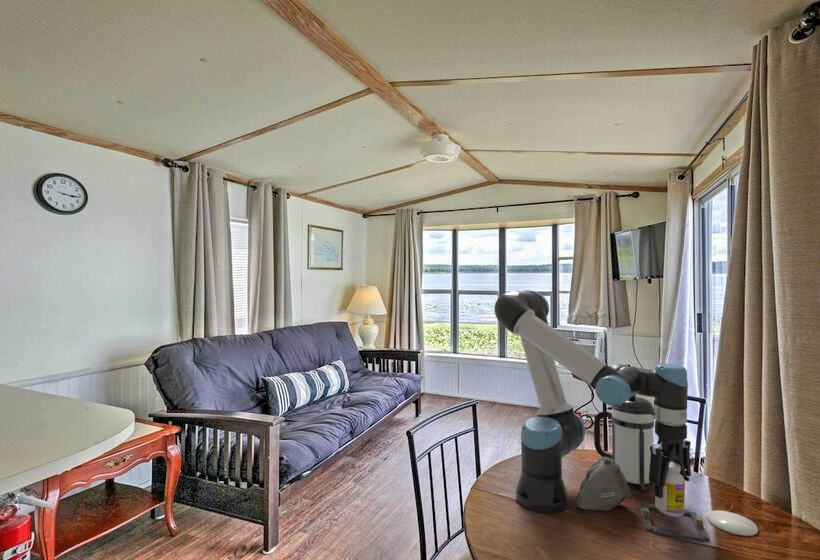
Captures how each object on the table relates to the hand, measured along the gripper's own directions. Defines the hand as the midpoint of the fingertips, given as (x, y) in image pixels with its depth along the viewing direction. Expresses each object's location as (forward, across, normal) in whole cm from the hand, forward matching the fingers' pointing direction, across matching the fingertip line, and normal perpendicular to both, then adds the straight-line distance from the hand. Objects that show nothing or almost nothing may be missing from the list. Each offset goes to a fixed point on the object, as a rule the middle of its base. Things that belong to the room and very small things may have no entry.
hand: (669, 505), depth 115 cm
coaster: (+4, +14, -8) cm, 17 cm away
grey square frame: (+5, 0, 0) cm, 5 cm away
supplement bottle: (+2, 0, 0) cm, 2 cm away
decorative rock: (+5, -11, +12) cm, 17 cm away
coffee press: (+5, +11, +22) cm, 25 cm away
